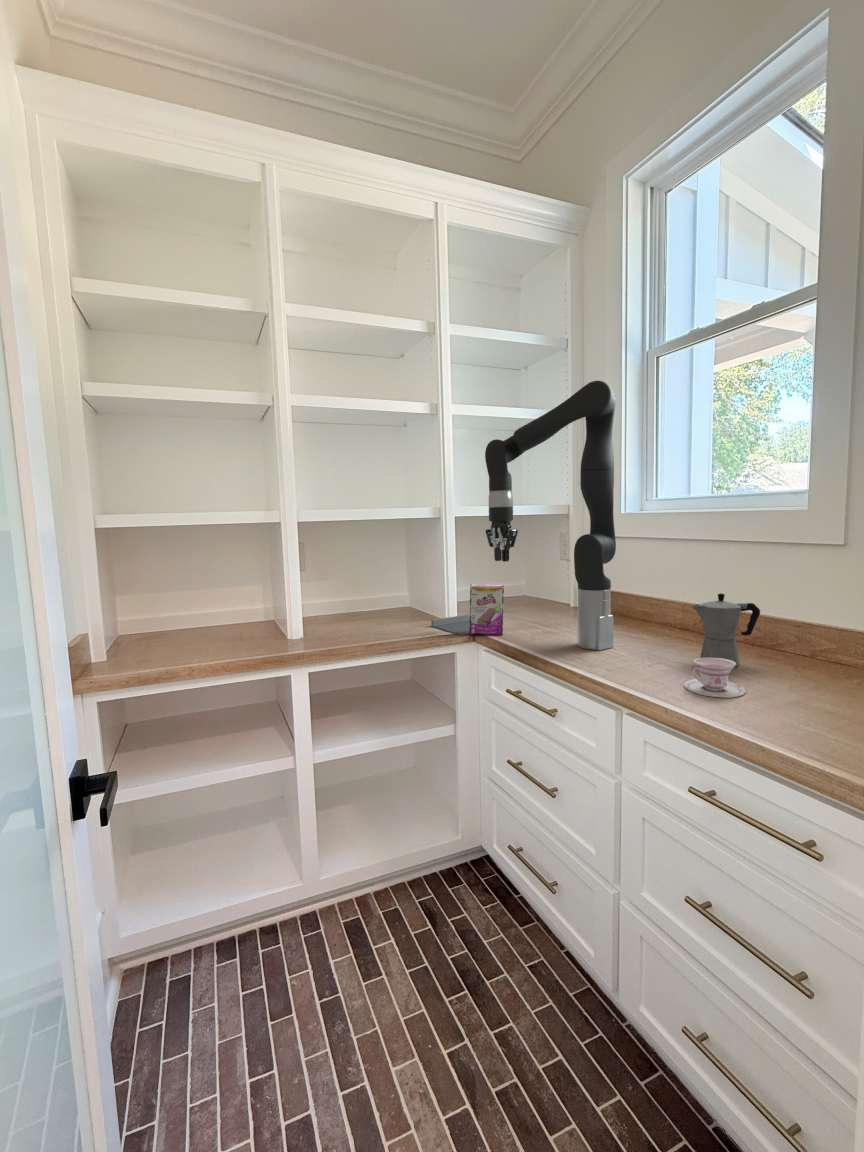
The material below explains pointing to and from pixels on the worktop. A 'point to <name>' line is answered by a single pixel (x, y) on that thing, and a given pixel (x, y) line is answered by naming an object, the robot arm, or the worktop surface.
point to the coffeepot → (723, 627)
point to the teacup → (714, 678)
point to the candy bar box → (486, 609)
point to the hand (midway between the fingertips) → (501, 560)
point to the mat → (453, 624)
